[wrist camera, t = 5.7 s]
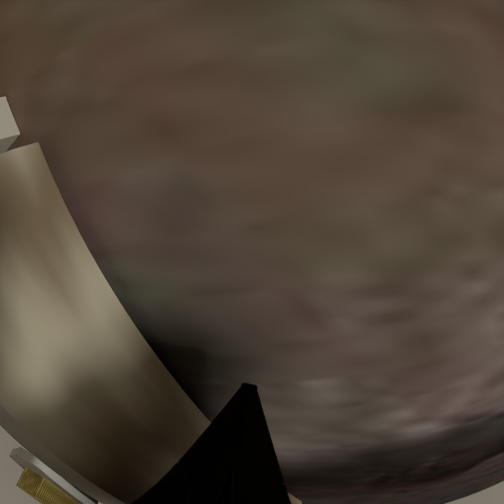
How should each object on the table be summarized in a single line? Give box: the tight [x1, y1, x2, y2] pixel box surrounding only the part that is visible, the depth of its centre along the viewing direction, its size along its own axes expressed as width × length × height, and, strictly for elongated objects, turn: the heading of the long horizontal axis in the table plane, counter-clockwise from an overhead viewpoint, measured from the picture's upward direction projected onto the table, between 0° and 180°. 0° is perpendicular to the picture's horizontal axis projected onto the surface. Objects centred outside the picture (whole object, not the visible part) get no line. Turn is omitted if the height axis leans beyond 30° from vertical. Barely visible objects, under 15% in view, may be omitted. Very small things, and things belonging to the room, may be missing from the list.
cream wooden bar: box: [0, 142, 211, 504], centre depth 8 cm, size 17×2×5 cm, turn 22°
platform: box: [10, 447, 98, 504], centre depth 13 cm, size 12×18×7 cm, turn 1°
